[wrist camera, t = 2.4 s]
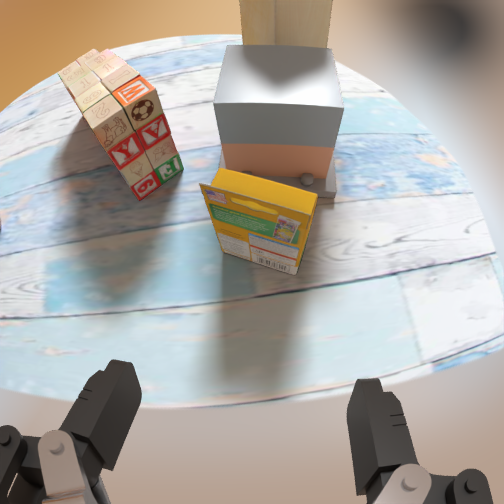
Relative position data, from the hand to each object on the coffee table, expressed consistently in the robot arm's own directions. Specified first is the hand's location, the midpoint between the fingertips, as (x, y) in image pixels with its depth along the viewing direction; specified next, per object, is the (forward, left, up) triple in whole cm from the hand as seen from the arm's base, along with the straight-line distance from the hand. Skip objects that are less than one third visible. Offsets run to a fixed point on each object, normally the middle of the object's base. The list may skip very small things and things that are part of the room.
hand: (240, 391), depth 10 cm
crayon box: (0, +12, -17) cm, 20 cm away
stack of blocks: (-19, +27, -17) cm, 36 cm away
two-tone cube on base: (+1, +24, -16) cm, 29 cm away
